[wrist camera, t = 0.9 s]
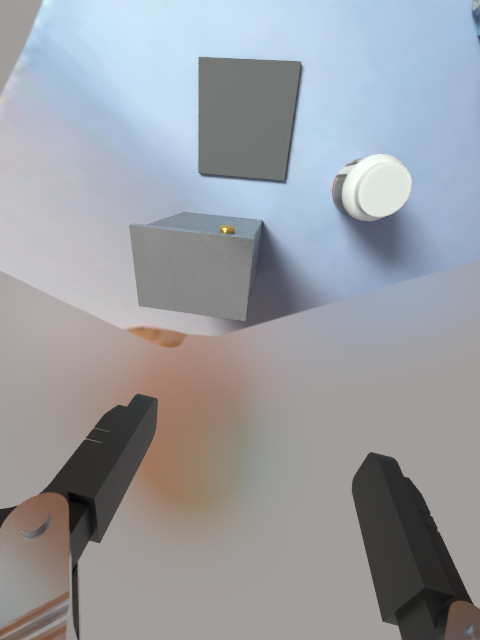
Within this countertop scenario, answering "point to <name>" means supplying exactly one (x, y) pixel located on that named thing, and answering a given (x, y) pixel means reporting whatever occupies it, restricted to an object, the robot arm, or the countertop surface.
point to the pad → (246, 116)
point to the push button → (475, 6)
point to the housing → (197, 263)
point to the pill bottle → (372, 187)
